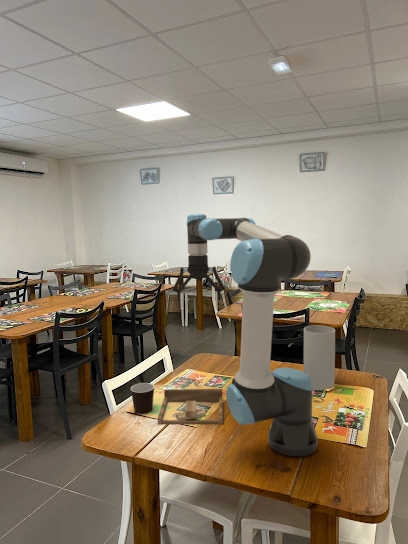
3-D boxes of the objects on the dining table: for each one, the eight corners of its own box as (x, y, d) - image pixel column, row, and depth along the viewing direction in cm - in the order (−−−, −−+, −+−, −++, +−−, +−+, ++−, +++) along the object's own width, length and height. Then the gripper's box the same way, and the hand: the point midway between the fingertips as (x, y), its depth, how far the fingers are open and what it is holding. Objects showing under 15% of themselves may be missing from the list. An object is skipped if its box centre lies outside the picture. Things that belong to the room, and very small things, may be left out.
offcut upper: (195, 408, 145) (195, 400, 145) (195, 418, 137) (195, 411, 137) (186, 408, 145) (186, 401, 145) (185, 419, 137) (185, 411, 137)
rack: (222, 427, 136) (222, 410, 135) (158, 427, 137) (157, 411, 136) (222, 403, 154) (222, 388, 153) (165, 404, 155) (164, 389, 154)
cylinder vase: (297, 385, 169) (297, 328, 166) (317, 378, 175) (317, 324, 172) (320, 395, 158) (321, 335, 155) (340, 388, 165) (341, 329, 162)
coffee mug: (148, 420, 142) (147, 393, 141) (127, 417, 145) (126, 391, 144) (162, 406, 153) (161, 381, 152) (142, 403, 156) (141, 379, 155)
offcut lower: (205, 420, 142) (205, 412, 141) (179, 426, 138) (179, 418, 138) (202, 415, 145) (201, 408, 145) (176, 421, 141) (175, 413, 141)
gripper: (230, 253, 155) (231, 306, 158) (167, 254, 156) (169, 307, 159) (230, 254, 148) (231, 310, 150) (164, 256, 149) (166, 311, 151)
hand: (199, 308), depth 155 cm, fingers open, 13 cm apart
